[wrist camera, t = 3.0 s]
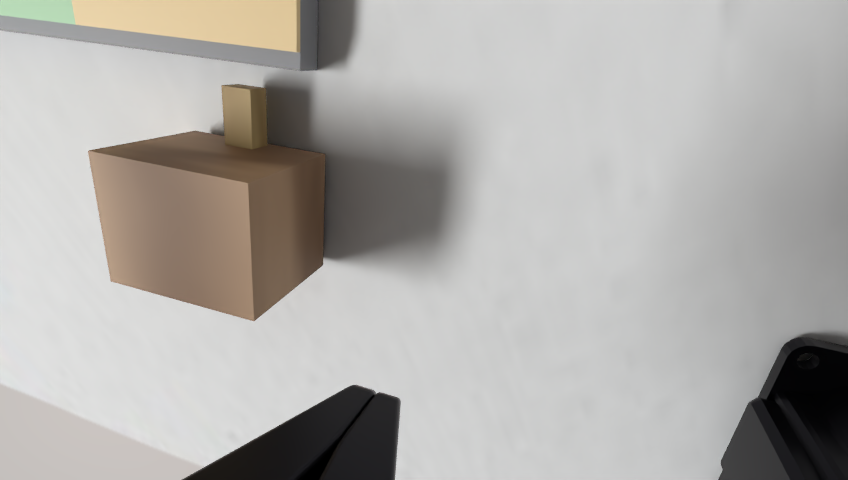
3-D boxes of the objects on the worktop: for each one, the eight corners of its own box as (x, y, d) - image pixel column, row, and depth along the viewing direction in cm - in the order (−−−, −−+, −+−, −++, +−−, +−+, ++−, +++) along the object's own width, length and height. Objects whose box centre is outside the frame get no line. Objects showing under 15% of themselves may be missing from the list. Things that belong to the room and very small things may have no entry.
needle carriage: (326, 96, 14) (244, 108, 11) (323, 265, 17) (253, 321, 13) (190, 76, 16) (75, 80, 12) (204, 236, 18) (110, 281, 14)
